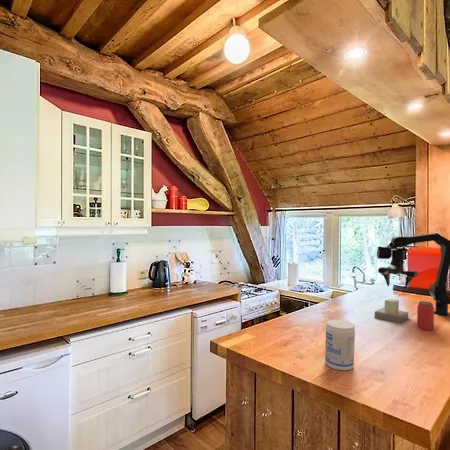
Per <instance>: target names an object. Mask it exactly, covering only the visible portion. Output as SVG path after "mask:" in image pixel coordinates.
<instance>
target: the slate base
mask: <svg viewBox="0 0 450 450" xmlns="http://www.w3.org/2000/svg"><path fill="white" fill-rule="evenodd" d="M374 318H377V319H380V320H385V321H390V322H393V323H397V324H401V323H402V322H403V321H406V320H408V319H409V312H408V311H403V310H400V309H399V312H397V313H395V314H394V313H389V312H385V306H384V307H382V308H379V309H378V310H375V311H374Z"/></svg>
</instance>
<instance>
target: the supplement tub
mask: <svg viewBox="0 0 450 450" xmlns="http://www.w3.org/2000/svg"><path fill="white" fill-rule="evenodd" d="M325 326H326V327H325V346H324V347H325V351H324V354H325V355H324V359H325V360H324V361H325V362H324V363H325V365H327V366H328V367H329V368H331V369H334V370H339V371H348V370H352V369H353V368H354V366H355V365H354V364H355V337H356V329H355V325H354V323H352V322H350V321H348V320H343V319H342V320H341V319H331V320H328V321H327V322H326V325H325Z"/></svg>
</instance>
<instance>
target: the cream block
mask: <svg viewBox="0 0 450 450" xmlns="http://www.w3.org/2000/svg"><path fill="white" fill-rule="evenodd" d="M399 304H400V301H399V299H394V298H389V297H388V298H386V299H384V307H385V312H389V313H394V314H395V313H397V312H399V310H400V305H399Z"/></svg>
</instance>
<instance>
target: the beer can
mask: <svg viewBox="0 0 450 450" xmlns="http://www.w3.org/2000/svg"><path fill="white" fill-rule="evenodd" d="M434 311H435V307H434V303H432V302H430V301H419V302H418V305H417V312H416V313H417V314H416V316H417V317H416V327H417V328H418V329H420V330H423V331H434V329H435V327H434V326H435V323H434V322H435V313H434Z"/></svg>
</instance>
